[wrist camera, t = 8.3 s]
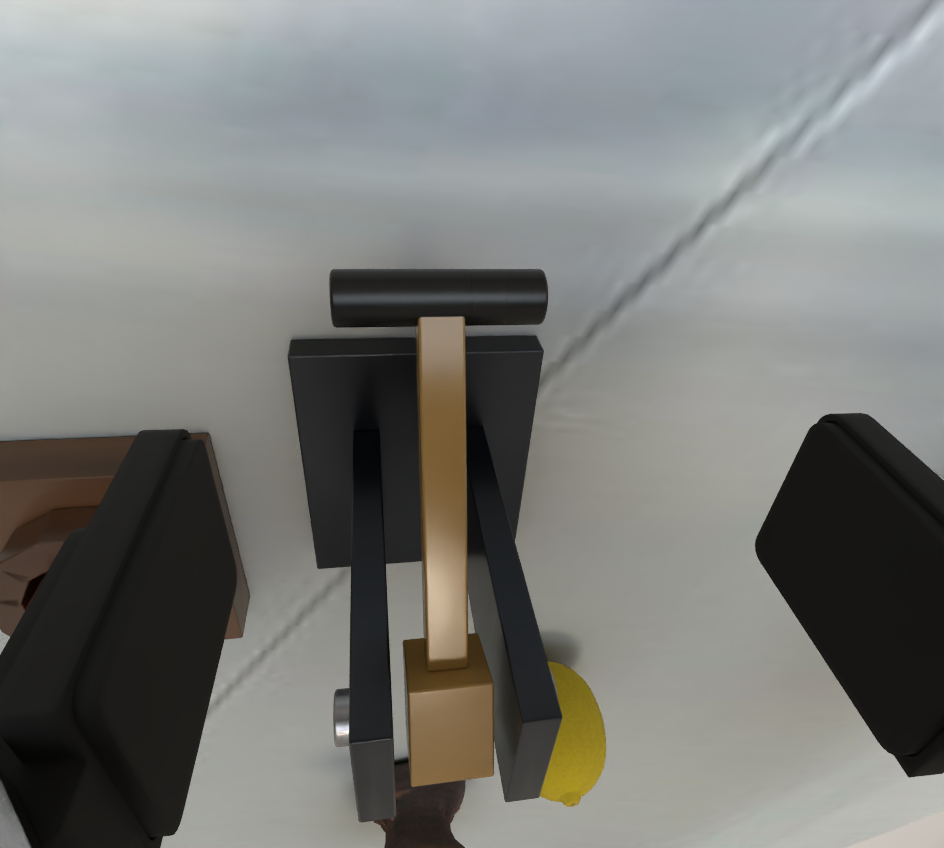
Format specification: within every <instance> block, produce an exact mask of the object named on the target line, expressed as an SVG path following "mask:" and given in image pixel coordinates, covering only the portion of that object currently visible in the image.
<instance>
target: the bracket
mask: <svg viewBox="0 0 944 848" xmlns="http://www.w3.org/2000/svg"><path fill="white" fill-rule="evenodd" d="M543 352H544V351H543V348H542V346H541V344H540V342H539V340H538V338H537V336H535V335H532V336H475V337H465V356H466V466H467V577H468V594H469V600H470V605H471V611H472V617H473V622H474V628H475V633H478V635H479V638H480V641H481V644H482V647H483V651H484V654H485V657H486V660H487V663H488V667H489V670H490V673H491V676H492V679H493V682H494V742H495V748H496V754H497V759H498V765H499V771H500V776H501V782H502V788H503V793H504V799H505V802H512V801H519V800H526V799H533V798H539V796H540V793H541V790H542V786H543V783H544V779H545V776H546V773H547V769H548V766H549V762H550V759H551V756H552V752H553V749H554V745H555V742H556V739H557V735H558V732H559V728H560V725H561V722H562V718H563V717H562V713H561V709H560V706H559V702H558V694H557V688H556V683H555V680H554V677H553V674H552V672H551V670H550V669H549V665H548V662H547V658H546V654H545V651H544V647H543V643H542V640H541V636H540V632H539V629H538V625H537V621H536V618H535V614H534V610H533V607H532V603H531V599H530V596H529V592H528V588H527V585H526V581H525V577H524V574H523V570H522V566H521V563H520V559H519V555H518V552H517V548H516V544H515V538H516V531H517V525H518V518H519V511H520V505H521V498H522V491H523V485H524V478H525V472H526V465H527V458H528V452H529V445H530V438H531V432H532V425H533V418H534V412H535V405H536V399H537V392H538V385H539V379H540V372H541V365H542V359H543ZM288 362H289V369H290V376H291V383H292V391H293V398H294V405H295V412H296V419H297V426H298V433H299V441H300V448H301V455H302V462H303V469H304V476H305V483H306V491H307V498H308V505H309V512H310V519H311V526H312V533H313V541H314V548H315V555H316V562H317V568H318V569H324V568H337V567H350V566H351V614H350V685H349V688H345V689H337V690H336V691H335V694H334V712H333V721H334V741H335V745H336V747H343V746H349V749H350V757H351V765H352V772H353V780H354V788H355V796H356V804H357V812H358V820H359V822H367V821H374V820H381V819H389V818H394V817H395V816H396V799H395V771H394V742H393V718H392V696H391V673H390V650H389V628H388V605H387V583H386V564H390V563H403V562H416V561H422V548H421V510H420V471H419V433H418V395H417V356H416V338H361V339H304V340H291V342H290V348H289V353H288Z"/></svg>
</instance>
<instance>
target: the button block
mask: <svg viewBox="0 0 944 848" xmlns="http://www.w3.org/2000/svg"><path fill="white" fill-rule="evenodd" d="M190 436H191V439H201V440H203V442H204V443H205V446H206V449H207V453H208V457H209V461H210V465H211V469H212V473H213V477H214V481H215V485H216V488H217V492H218V496H219V500H220V504H221V508H222V512H223V516H224V520H225V524H226V528H227V531H228V535H229V539H230V543H231V547H232V551H233V555H234V559H235V563H236V568H237V587H236V592H235V596H234V601H233V605H232V609H231V613H230V617H229V622H228V626H227V630H226V634H225V638H224V639H232V638H242V637H243V633H244V627H245V621H246V616H247V610H248V604H249V598H250V596H249V592H248V588H247V584H246V580H245V576H244V572H243V568H242V564H241V560H240V556H239V552H238V548H237V544H236V540H235V536H234V532H233V528H232V524H231V520H230V516H229V512H228V508H227V504H226V500H225V497H224V493H223V489H222V485H221V481H220V477H219V473H218V469H217V465H216V461H215V457H214V453H213V449H212V445H211V441H210V437H209V434H208V433H204V434H190ZM135 437H136V436H129V437H104V438H79V439H55V440H30V441H5V442H0V629H1V631H2V632H3V633H5V634H6V635H8V636H10V637H11V635H12V633H13V632H14V630H15V628H16V626H17V625H18V623H19V621H20V619H21V618H22V616H23V614H24V612H25V610H26V608H27V606H28V604H29V602H30V600H31V599H32V597H33V595H34V593H35V591H36V589H37V587H38V585H39V583H40V582H41V581H42V580H43V578H44V577H45V575H46V573H47V572H48V570H49V568H50V566H51V564H52V563H53V561H54V559H55V557H56V556H57V554H58V552H59V550H60V549H61V547H62V545H63V543H64V542H65V540H66V539H67V538H68V536H69V535H70V534H71V533H72V532H73V531H75V530H77V529H78V528H87V526H88V525H89V523H90V521H91V519H92V517H93V515H94V513H95V512H96V510H97V508H98V506H99V504H100V502H101V500H102V499H103V497H104V495H105V493H106V491H107V489H108V487H109V486H110V484H111V482H112V480H113V478H114V476H115V474H116V473H117V471H118V469H119V467H120V465H121V463H122V461H123V460H124V458H125V456H126V454H127V452H128V450H129V448H130V447H131V445H132V443H133V441H134V439H135Z"/></svg>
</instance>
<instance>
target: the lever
mask: <svg viewBox="0 0 944 848" xmlns="http://www.w3.org/2000/svg"><path fill="white" fill-rule="evenodd" d="M329 286H330V307H331V317H332V323H333V325H334V327H404V326H416V356H417V395H418V433H419V471H420V510H421V548H422V586H423V625H424V638H420V639H410V640H404V641H403V656H404V685H405V714H406V732H407V745H408V758H409V771H410V784H411V786H412V787H416V786H423V785H430V784H438V783H445V782H453V781H460V780H468V779H475V778H483V777H490V776H493V774H494V682H493V679H492V676H491V673H490V670H489V667H488V663H487V660H486V657H485V654H484V651H483V647H482V644H481V641H480V638H479V635H478V633H473V634H468V577H467V466H466V356H465V326H473V325H538V324H541V323H542V322H543V321H544V319H545V315H546V312H547V306H548V285H547V280H546V276H545V273H544V272H543V271H542V270H540V269H333V270H331V272H330V278H329Z"/></svg>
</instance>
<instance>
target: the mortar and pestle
mask: <svg viewBox="0 0 944 848" xmlns="http://www.w3.org/2000/svg"><path fill="white" fill-rule="evenodd" d="M394 771H395V799H396V816H395V817H394V818H389V819H381V820H374V823H377V824H379V825H381V828H382V829H383V830H384V831H385V833H386V843H385V848H465V847H464V846H463V845H461V844H460V843H459V842H458V841H457V840H456V839H455V838H454V836H453V834H452V832H451V829H450V823H451V822H452V820H453V818H454V814H455V813H456V812H457V811H458V810H459V809H460V805H461V803H462V801H463V797H464V792H465V780H460V781H453V782H445V783H438V784H430V785H423V786H416V787H412V786H411V784H410V771H409V763H404V764H398V765H394Z"/></svg>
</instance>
